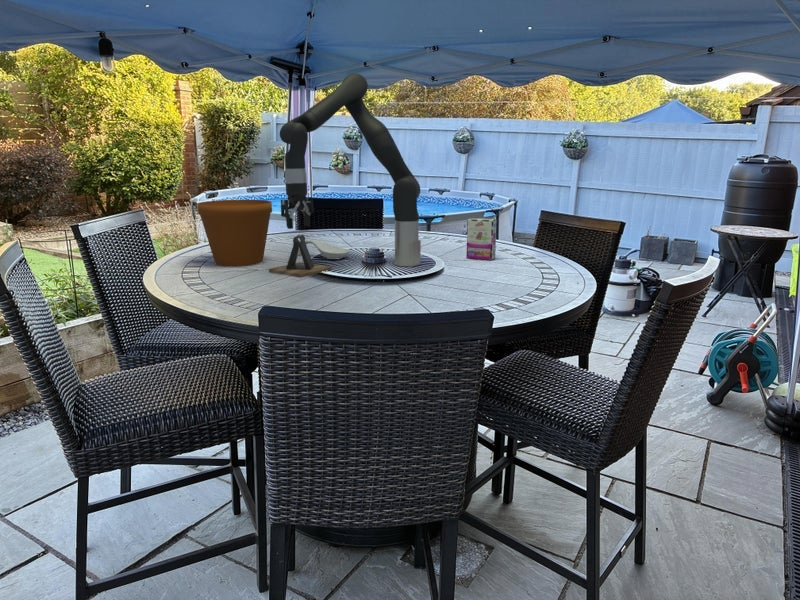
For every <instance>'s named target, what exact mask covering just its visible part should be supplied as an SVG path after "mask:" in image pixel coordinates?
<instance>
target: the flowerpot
mask: <svg viewBox="0 0 800 600" xmlns="http://www.w3.org/2000/svg"><path fill="white" fill-rule="evenodd" d="M196 205H197V206H196V207H197V214H198V215H199V216H200V219H201V222H202V226H203V229H204V232H205V235H206V238H207V242H208V244H209V245H208V246H209V248H210V251H211V254H212V257H213V261H214V264H215V263H216V264H215V265H217V266H220V265H221V267H246V266H247V267H249V266H255V265H258V264H261V263H263V262H264V256H265V250H266V249H265V248H266V245H267V244H266V243H267V237H268V231H269V225H270V219H271V213H273V204H272V201H270V200H264V199H263V200H262V199H261V200H260V199H223V200H210V201H209V200H207V201H201V202H198V203H197V204H196Z"/></svg>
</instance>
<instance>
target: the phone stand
mask: <svg viewBox="0 0 800 600" xmlns="http://www.w3.org/2000/svg"><path fill="white" fill-rule="evenodd" d="M305 241H306V236H305V235H304V234H298V235H296V236H294V237H293V238H292V243H293V244H292V248H291V252H290V254H289V255H290V256H289V257H288V261H287V263H286V265H287V267H286V269H295V270H298V269H299V270H310V269H311V268H312V267H314V264H315V263H314V261H313V259H312V257H311V254H310V251H309V249H308V247H307V244H305ZM299 248H300V252H301V255H300V256H301V258H302V260H303V261H302V263H304V265H296V263H297V259H298V256H297V255H298V250H299Z"/></svg>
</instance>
